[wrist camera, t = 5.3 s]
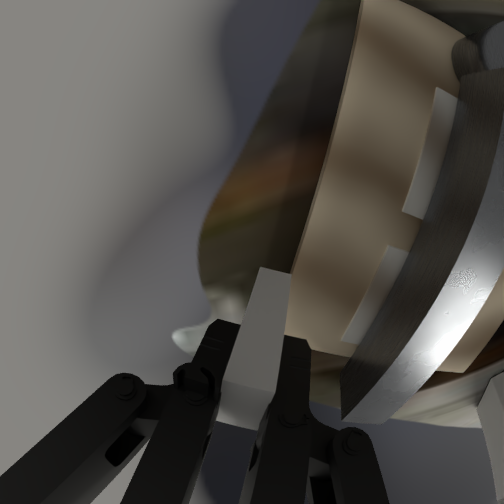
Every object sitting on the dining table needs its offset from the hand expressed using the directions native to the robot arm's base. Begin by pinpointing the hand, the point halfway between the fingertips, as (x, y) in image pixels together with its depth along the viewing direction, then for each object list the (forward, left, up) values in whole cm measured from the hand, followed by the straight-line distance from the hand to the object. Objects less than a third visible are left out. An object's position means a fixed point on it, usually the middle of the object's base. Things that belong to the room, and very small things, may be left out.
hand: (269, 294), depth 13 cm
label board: (-6, +10, -4) cm, 12 cm away
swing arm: (-5, +8, -2) cm, 10 cm away
